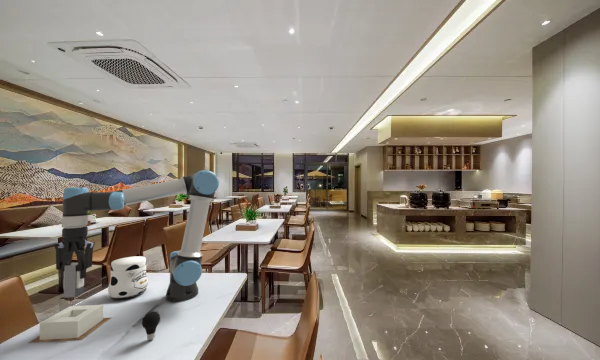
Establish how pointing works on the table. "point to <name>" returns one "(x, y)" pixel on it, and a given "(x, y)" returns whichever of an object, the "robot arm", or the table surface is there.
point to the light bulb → (151, 323)
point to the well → (71, 322)
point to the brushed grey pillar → (71, 281)
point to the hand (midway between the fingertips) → (73, 287)
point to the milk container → (128, 277)
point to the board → (73, 338)
